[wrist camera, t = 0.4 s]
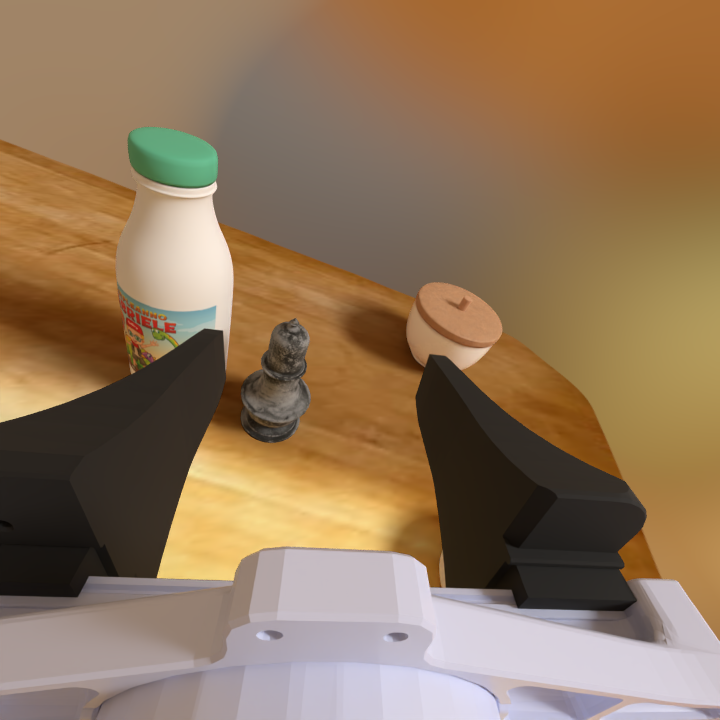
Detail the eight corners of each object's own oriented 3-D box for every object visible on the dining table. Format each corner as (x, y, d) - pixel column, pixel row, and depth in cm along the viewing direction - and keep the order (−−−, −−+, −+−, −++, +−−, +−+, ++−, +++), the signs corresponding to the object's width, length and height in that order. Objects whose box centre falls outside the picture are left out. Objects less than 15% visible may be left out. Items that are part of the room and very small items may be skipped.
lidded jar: (464, 401, 44) (510, 345, 37) (383, 361, 44) (415, 299, 38) (473, 350, 52) (512, 297, 45) (404, 317, 52) (433, 260, 46)
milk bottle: (169, 334, 37) (157, 106, 23) (240, 365, 37) (268, 155, 24) (110, 385, 31) (49, 122, 18) (194, 422, 31) (197, 187, 18)
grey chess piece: (230, 439, 31) (243, 336, 23) (244, 387, 35) (260, 284, 27) (298, 450, 32) (334, 356, 24) (305, 398, 36) (337, 304, 28)
